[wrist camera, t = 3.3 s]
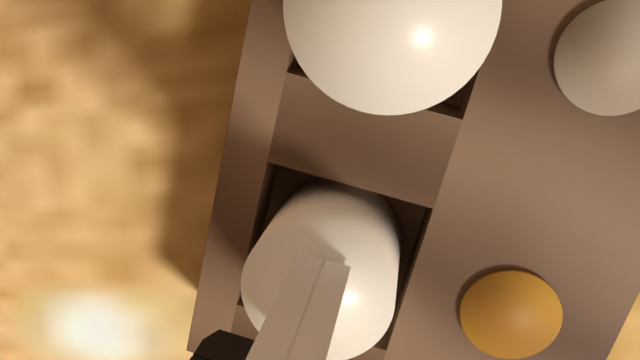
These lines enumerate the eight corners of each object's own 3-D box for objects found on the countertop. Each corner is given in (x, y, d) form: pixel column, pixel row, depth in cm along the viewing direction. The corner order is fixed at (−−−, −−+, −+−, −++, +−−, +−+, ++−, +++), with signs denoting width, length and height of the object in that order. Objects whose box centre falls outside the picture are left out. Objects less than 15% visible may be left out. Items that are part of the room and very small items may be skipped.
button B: (338, -105, 15) (309, -137, 11) (507, -65, 15) (535, -83, 11) (301, 63, 16) (264, 85, 13) (453, 103, 16) (461, 139, 12)
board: (391, -574, 14) (382, -721, 11) (943, -482, 13) (1093, -618, 10) (215, 306, 23) (184, 353, 20) (537, 405, 22) (555, 471, 19)
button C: (289, 161, 20) (257, 202, 16) (417, 197, 19) (414, 248, 15) (263, 274, 21) (228, 336, 17) (381, 309, 21) (372, 381, 17)
